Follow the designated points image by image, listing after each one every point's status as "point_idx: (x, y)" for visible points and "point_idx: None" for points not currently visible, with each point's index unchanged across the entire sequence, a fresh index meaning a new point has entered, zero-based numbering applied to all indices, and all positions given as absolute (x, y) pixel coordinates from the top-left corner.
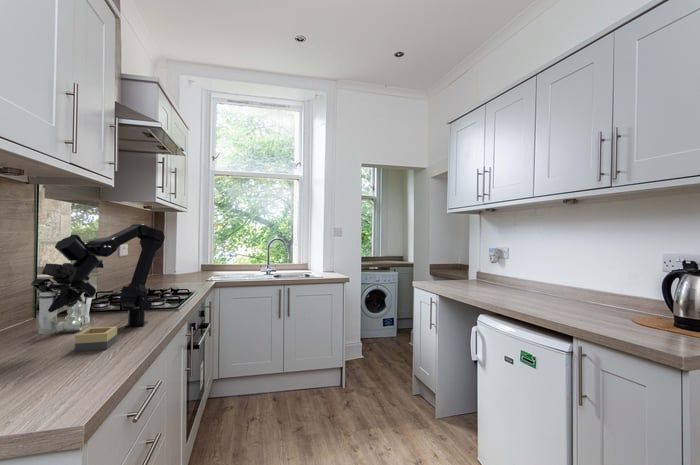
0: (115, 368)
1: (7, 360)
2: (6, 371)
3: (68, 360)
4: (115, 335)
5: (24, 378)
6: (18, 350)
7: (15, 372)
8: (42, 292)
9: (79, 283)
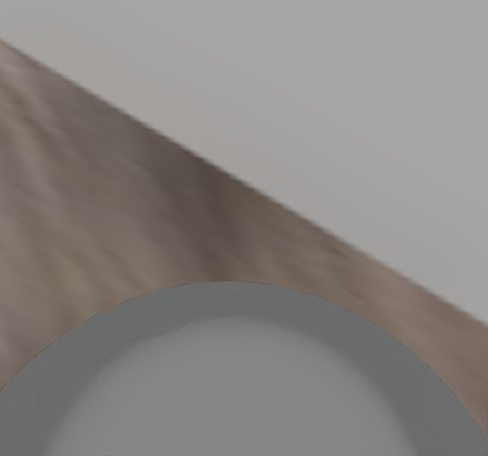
0: None
1: (340, 246)
2: (174, 144)
3: (11, 332)
4: None
5: (10, 110)
6: (485, 388)
7: (120, 146)
8: (368, 425)
9: None
